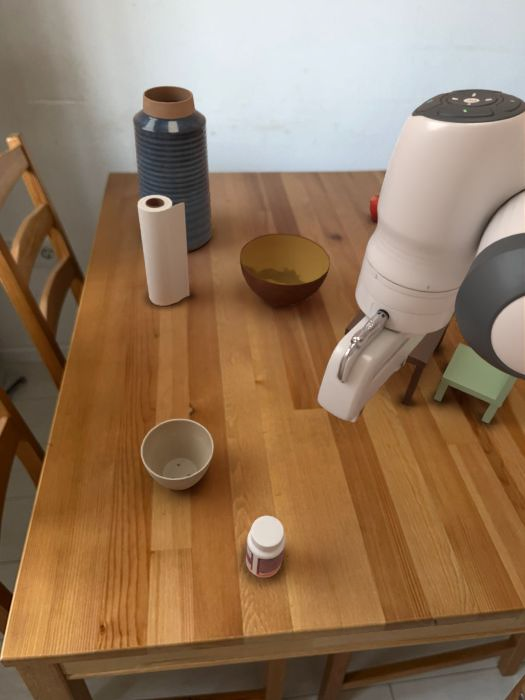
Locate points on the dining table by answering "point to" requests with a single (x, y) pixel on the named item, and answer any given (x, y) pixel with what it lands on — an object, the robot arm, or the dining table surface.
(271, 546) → the pill bottle
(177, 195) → the vase
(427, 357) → the toy table
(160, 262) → the paper towel roll
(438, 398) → the chair
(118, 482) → the dining table surface
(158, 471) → the flower pot
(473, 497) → the dining table surface
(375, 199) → the red round fruit
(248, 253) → the bowl
